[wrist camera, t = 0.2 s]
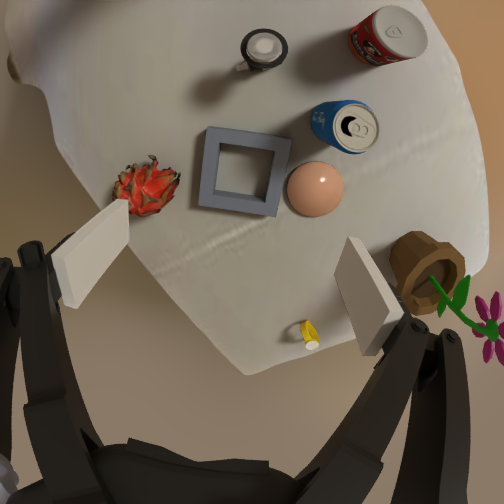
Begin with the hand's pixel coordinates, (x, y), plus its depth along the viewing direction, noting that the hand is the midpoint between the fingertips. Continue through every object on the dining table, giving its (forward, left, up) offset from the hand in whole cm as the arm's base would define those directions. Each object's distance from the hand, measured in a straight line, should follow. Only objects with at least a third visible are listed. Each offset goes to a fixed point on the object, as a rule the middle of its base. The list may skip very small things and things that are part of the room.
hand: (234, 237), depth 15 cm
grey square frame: (+2, -1, -27) cm, 27 cm away
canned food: (-23, +15, -28) cm, 39 cm away
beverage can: (-8, +11, -28) cm, 31 cm away
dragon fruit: (+6, -15, -28) cm, 32 cm away
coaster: (+3, +11, -27) cm, 30 cm away
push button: (-15, -1, -28) cm, 31 cm away
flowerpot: (+11, +34, -28) cm, 45 cm away
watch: (+32, +18, -28) cm, 46 cm away
